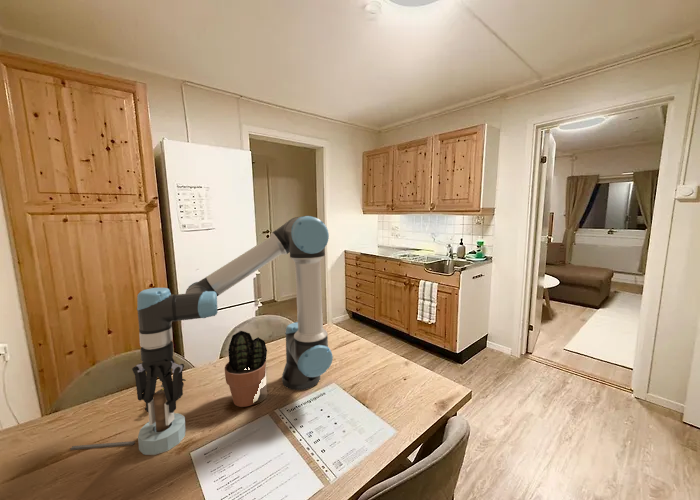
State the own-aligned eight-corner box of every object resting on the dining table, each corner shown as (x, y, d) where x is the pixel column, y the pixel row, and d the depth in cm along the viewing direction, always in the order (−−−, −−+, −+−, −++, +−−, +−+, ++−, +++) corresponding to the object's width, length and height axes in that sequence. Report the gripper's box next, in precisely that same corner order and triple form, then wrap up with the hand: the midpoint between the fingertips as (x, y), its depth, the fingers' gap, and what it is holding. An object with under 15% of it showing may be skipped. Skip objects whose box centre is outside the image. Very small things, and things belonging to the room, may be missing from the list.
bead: (193, 425, 86) (192, 413, 86) (169, 455, 76) (168, 441, 75) (158, 425, 87) (157, 413, 86) (129, 454, 76) (128, 440, 75)
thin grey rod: (135, 442, 80) (135, 441, 80) (133, 444, 79) (133, 443, 79) (72, 447, 78) (72, 446, 78) (70, 450, 77) (70, 448, 77)
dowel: (171, 435, 83) (168, 390, 81) (164, 443, 80) (161, 396, 78) (161, 435, 83) (158, 390, 81) (154, 443, 80) (150, 396, 78)
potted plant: (242, 417, 90) (240, 342, 88) (217, 402, 98) (214, 333, 95) (274, 395, 102) (273, 329, 99) (250, 383, 109) (248, 321, 107)
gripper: (194, 338, 82) (198, 413, 84) (137, 337, 82) (143, 412, 85) (178, 350, 74) (183, 432, 77) (115, 349, 75) (122, 430, 77)
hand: (162, 421), depth 81 cm, fingers open, 4 cm apart
